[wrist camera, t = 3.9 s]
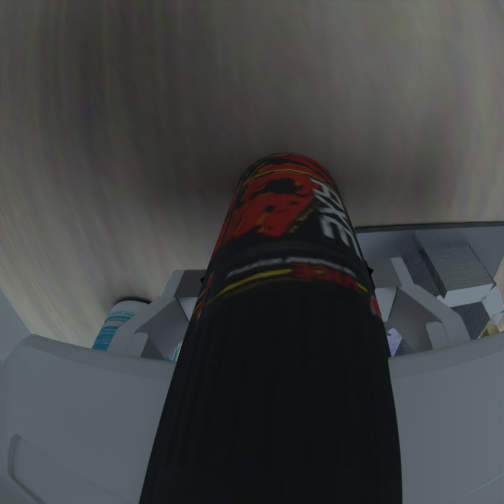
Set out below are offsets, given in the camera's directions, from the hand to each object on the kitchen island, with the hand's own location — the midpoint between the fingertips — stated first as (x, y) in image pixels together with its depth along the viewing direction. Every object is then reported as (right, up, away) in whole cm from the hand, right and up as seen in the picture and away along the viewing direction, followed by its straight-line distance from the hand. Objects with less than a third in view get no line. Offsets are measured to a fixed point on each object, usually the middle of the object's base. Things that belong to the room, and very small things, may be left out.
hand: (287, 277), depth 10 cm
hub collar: (+13, -3, +8) cm, 15 cm away
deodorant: (+1, +4, +5) cm, 6 cm away
